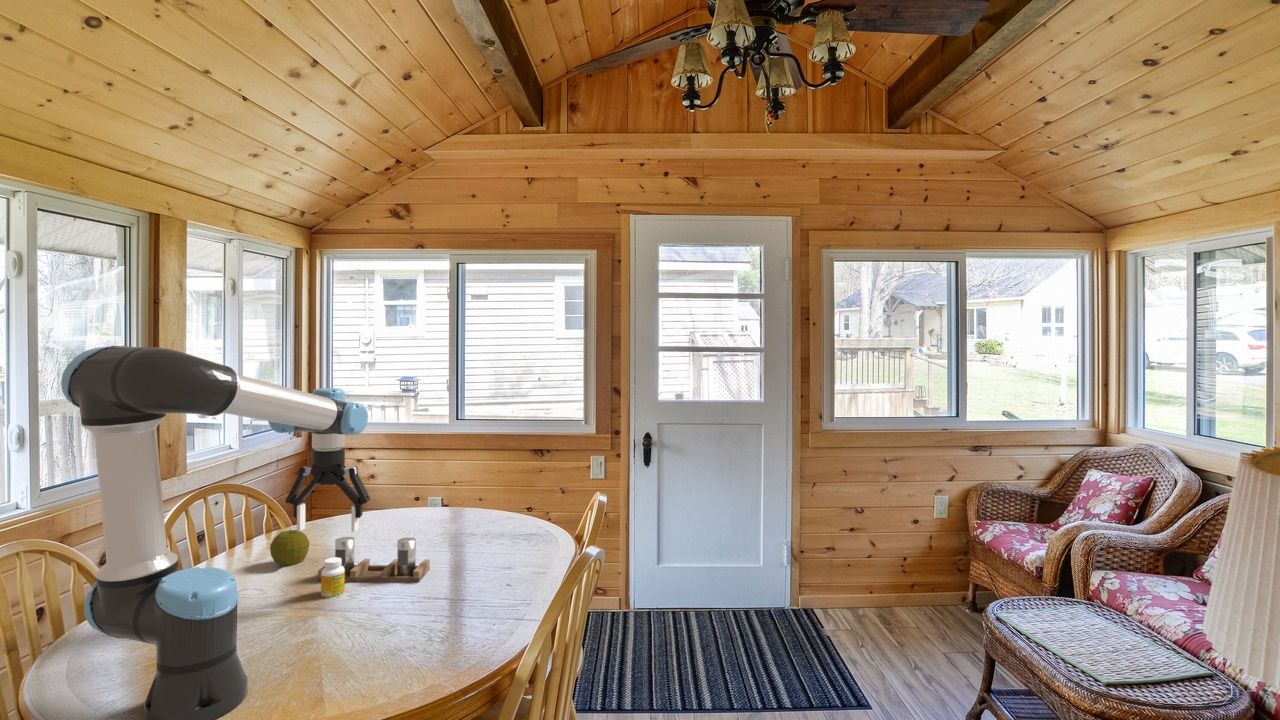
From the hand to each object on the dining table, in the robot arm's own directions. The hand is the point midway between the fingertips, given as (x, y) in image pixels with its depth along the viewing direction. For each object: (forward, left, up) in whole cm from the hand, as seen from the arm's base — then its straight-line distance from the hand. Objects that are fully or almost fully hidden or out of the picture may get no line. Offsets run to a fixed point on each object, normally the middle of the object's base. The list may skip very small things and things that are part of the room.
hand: (328, 530), depth 154 cm
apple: (+22, +22, -18) cm, 35 cm away
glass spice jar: (+12, -16, -16) cm, 26 cm away
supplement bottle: (0, -1, -17) cm, 18 cm away
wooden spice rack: (+12, -7, -17) cm, 22 cm away
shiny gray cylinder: (+12, +1, -16) cm, 20 cm away
